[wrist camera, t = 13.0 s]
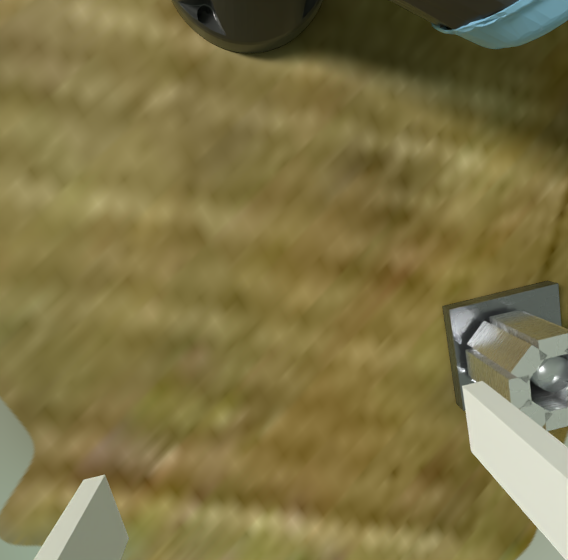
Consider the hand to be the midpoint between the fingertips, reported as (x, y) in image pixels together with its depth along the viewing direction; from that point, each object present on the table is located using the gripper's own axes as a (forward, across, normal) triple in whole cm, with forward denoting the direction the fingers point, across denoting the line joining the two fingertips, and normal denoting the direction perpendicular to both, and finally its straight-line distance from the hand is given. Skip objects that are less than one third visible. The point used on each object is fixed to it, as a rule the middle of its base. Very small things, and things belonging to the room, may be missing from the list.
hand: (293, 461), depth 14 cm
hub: (+24, +23, -12) cm, 36 cm away
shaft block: (+27, +24, -12) cm, 38 cm away
